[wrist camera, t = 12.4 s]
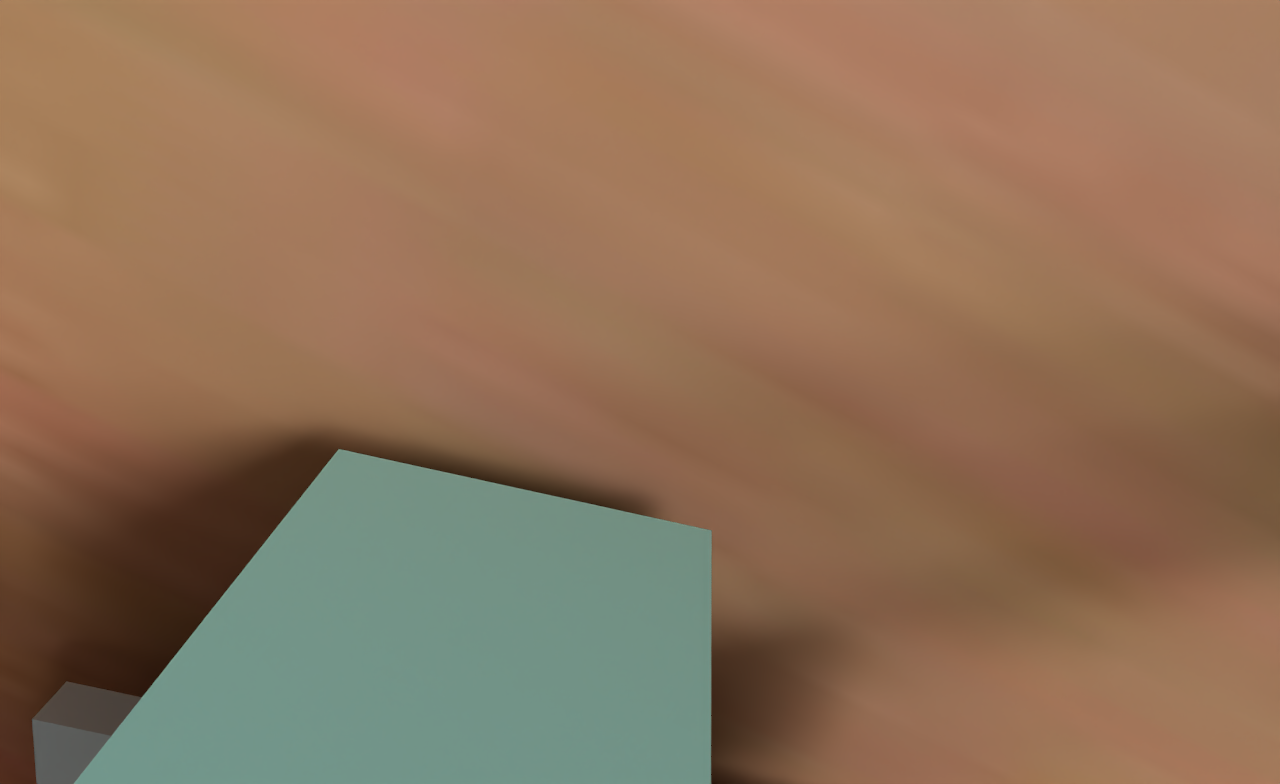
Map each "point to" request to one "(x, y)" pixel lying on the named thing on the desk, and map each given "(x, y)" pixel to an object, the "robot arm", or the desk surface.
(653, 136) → the desk surface
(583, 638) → the lid
